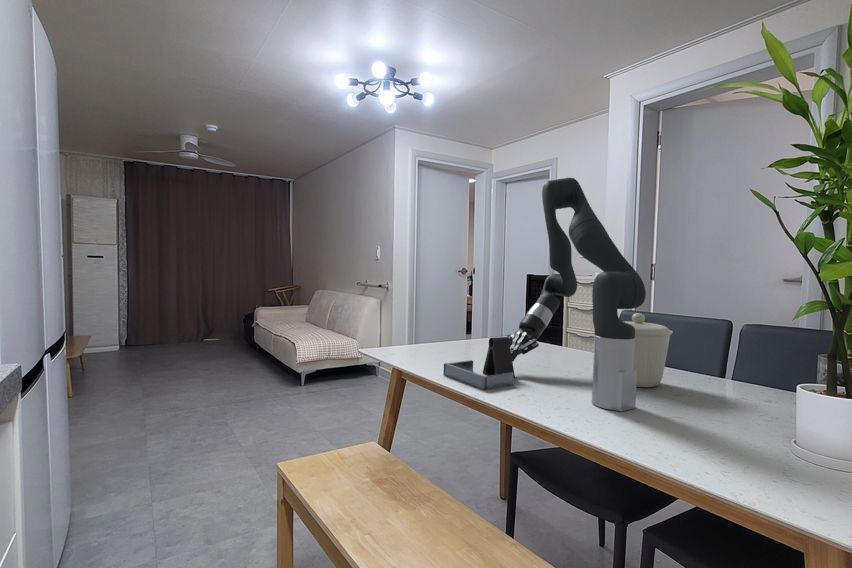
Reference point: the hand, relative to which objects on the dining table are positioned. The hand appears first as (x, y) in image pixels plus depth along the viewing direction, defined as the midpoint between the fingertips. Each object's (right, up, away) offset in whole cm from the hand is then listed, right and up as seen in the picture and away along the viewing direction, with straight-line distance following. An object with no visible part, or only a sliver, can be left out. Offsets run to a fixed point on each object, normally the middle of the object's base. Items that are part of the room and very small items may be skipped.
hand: (507, 361), depth 136 cm
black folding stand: (-3, -4, -2) cm, 6 cm away
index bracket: (-10, -4, -7) cm, 13 cm away
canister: (+37, -6, -6) cm, 38 cm away
